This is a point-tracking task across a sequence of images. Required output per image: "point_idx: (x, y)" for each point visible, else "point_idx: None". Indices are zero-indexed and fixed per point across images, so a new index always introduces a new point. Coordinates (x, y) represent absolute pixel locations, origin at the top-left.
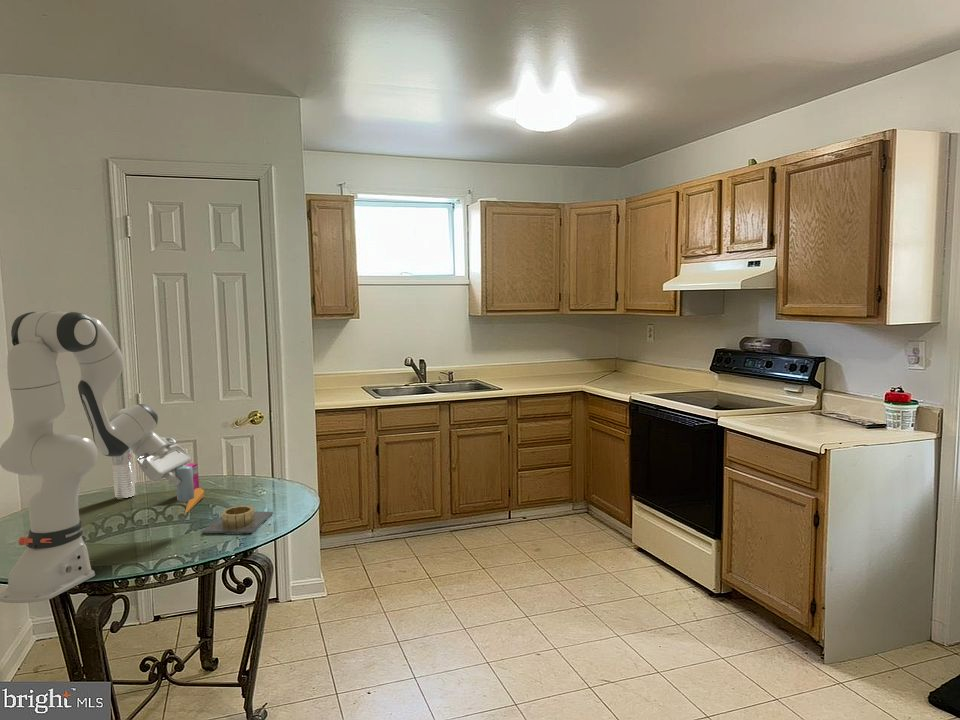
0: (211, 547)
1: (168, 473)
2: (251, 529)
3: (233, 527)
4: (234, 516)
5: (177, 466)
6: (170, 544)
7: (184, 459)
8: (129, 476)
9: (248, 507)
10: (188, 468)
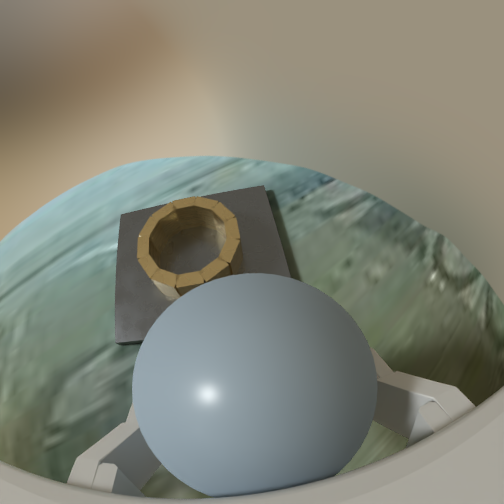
0: (368, 227)
1: (470, 409)
2: (254, 190)
3: (250, 238)
4: (236, 221)
5: (264, 493)
6: (393, 349)
7: (9, 494)
8: None
9: (154, 225)
10: (273, 287)
